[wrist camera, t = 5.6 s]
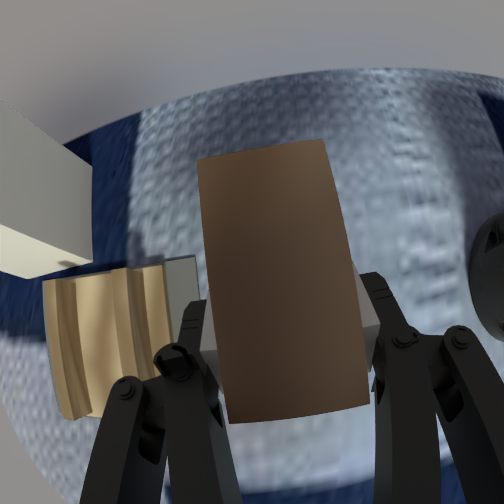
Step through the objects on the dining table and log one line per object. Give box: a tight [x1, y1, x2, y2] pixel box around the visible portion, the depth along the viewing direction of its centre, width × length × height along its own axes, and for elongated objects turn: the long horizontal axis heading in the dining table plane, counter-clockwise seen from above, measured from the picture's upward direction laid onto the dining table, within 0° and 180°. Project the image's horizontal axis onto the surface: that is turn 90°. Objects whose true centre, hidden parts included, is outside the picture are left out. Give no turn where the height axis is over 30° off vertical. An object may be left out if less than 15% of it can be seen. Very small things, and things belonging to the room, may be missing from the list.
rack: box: [45, 265, 174, 421], centre depth 25 cm, size 14×15×4 cm
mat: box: [43, 257, 200, 418], centre depth 27 cm, size 20×16×1 cm
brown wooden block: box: [197, 139, 370, 424], centre depth 14 cm, size 4×8×12 cm, turn 8°
